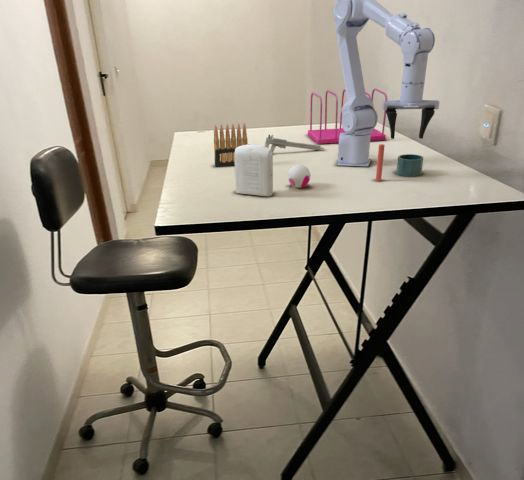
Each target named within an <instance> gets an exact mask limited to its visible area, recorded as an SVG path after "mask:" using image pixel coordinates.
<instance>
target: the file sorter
mask: <svg viewBox="0 0 524 480" xmlns="http://www.w3.org/2000/svg"><path fill="white" fill-rule="evenodd" d="M371 91H372V92H371V94H370V93H369V92H367V91H365V94H366V96H367V97H368V98H369V99H371V100H372V101H373V102H374V95H375V92H378V93H380V94H382V95H384V101H388V95H387V93H386V92H384V91H383V90H380V89H378V88H377V87H375V88H373V89H372V90H371ZM345 93H346V90H345V88H344V89H342V94H341V105H340V117H339V118H340V119H339V128H338V113H339V111H338V109H339V105H338V104H339V99H338V95H337V93H335V92H333V91H331V90H329V89H328V90H326V91H325V98H324V101H325V102H324V129H322V125H323V124H322V123H323V99H322V96H321V95H319V94H318V93H316V92H314V91H313V92H311V94H310V109H309V110H310V111H309V112H310V113H309V114H310V115H309V117H310V118H309V119H310V120H309V129H308V130H307V135H308V137H310V138H311V139H312V140H313V141H314V142H315V143H316V144H317V145H322V144H323V145H324V144H339V136H340V133H345V131H344V129H343V127H342V110H341V109H342V107H343V106H344V97H345ZM328 94H331V95H333V96H334V97H335V124H334V125H335V127H334V128H327V122H328V121H327V120H328V119H327V118H328V116H327V115H328ZM314 96H315V97H317V98H318V99H319V102H320V106H319V107H320V109H319V110H320V111H319V129H313V97H314ZM354 110H357V109H354ZM383 111H384V112H383V121H382V129H381V130H382V131H379V130H378V129H376V128H373V132H371V137H370V142H372V141H373V142H374V141H375V142H377V141H386V140H387V134H385V127H386V117H387V114H386V110H383Z"/></svg>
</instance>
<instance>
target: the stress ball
mask: <svg viewBox="0 0 524 480" xmlns="http://www.w3.org/2000/svg"><path fill="white" fill-rule="evenodd" d="M287 180H288V183H289V187H291V186H292V187H294V188H296V189H302V188H310V186H309V185H308V184H309V183H310V181H311V171H310V169H309V168H308V167H307V166H306V165H304V164H295V165H293V166H292V167H290V169H289V170H288V173H287Z"/></svg>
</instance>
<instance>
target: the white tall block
mask: <svg viewBox="0 0 524 480" xmlns="http://www.w3.org/2000/svg"><path fill="white" fill-rule="evenodd" d="M273 153H274V152H273ZM273 153H272V150H271V148H270V147H269V148H267V147H265V145H262V144H261V145H260V144H256V143H255V144H254V143H251V144H247V145H242V146H239V147H237V148H236V149H235V154H234V160H235V166H234V180H235V193H236V194H242V195H251V196H261V197H271V196H273V195H274V158H273V157H274V154H273Z"/></svg>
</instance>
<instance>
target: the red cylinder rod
mask: <svg viewBox="0 0 524 480" xmlns="http://www.w3.org/2000/svg"><path fill="white" fill-rule="evenodd" d="M384 155H385V144H383V143H380V144H378V151H377V161H376V162H377V163H376V172H375V181H376V182H381V181H382V176H383V164H384V157H385V156H384Z"/></svg>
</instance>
